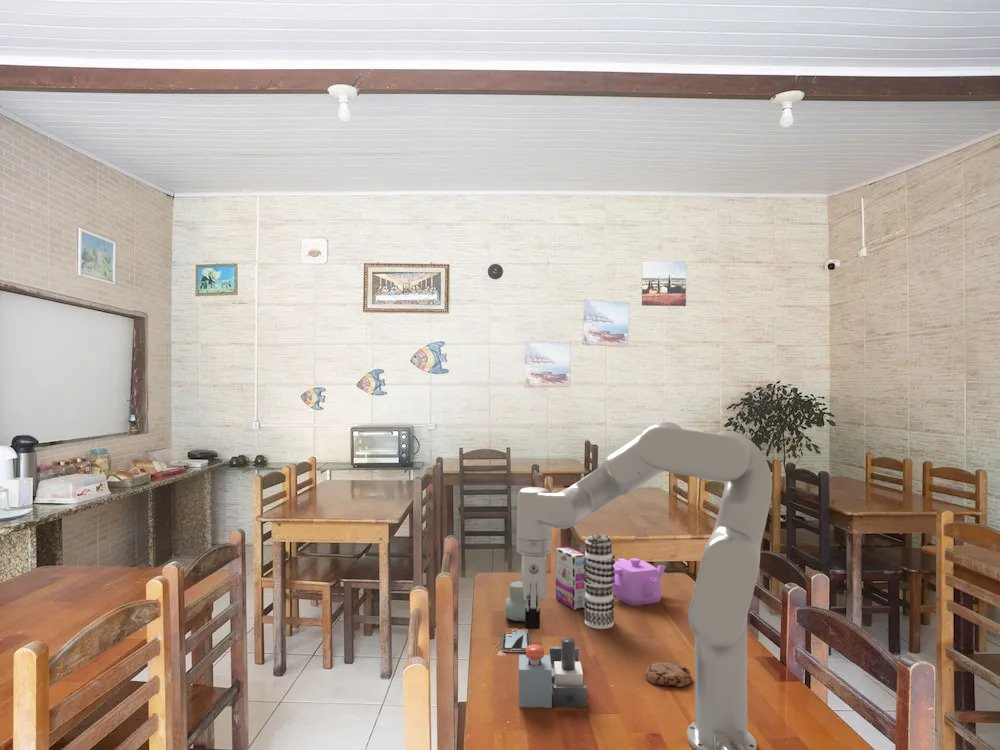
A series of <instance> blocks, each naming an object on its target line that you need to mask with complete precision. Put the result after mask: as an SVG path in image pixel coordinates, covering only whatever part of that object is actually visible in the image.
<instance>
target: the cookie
mask: <svg viewBox="0 0 1000 750" xmlns="http://www.w3.org/2000/svg"><path fill="white" fill-rule="evenodd" d="M645 679H646V681H648V682H649V683H650V684H653V685H658V686H663V687H668V686H674V687H676V688H683V687H685V686H688V685H690V684H691V682H693V677H692V675H691V670H690V668H688V667H687V666H685V665H682V664H679V663H678V662H656V663H653V664H650V665H649V666H647V667H646V669H645Z"/></svg>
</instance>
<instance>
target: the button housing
mask: <svg viewBox="0 0 1000 750" xmlns="http://www.w3.org/2000/svg"><path fill="white" fill-rule="evenodd" d="M552 699H553V691H552V670H551V660H550V654H548V655H547V654H544V657H543V658H541V659H539V665H530V659H529V658H527V657H526V654H518V707H519V706H527V707H526V708H536V707H543V708H544V709H545V708H546V709H547V708H548V709H549V708H550V709H552V707H553V706H552V705H553V700H552Z"/></svg>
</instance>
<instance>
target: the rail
mask: <svg viewBox="0 0 1000 750" xmlns="http://www.w3.org/2000/svg"><path fill="white" fill-rule="evenodd" d="M549 655H550V660H551V670H552V675H554V661H562V660H561V646H549ZM575 662H579V646H575ZM587 690H588V689H587V685H586V684H585V685H554V693H553V688H552V699H553V700H552V702H553V707H555V706H557V707H562V708H564V707H565V708H568V707H569V708H570V707H571V708H572V707H573V708H587V706H588V705H587V704H588V701H587V700H588V699H587V696H588V695H587V692H588V691H587Z"/></svg>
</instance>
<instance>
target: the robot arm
mask: <svg viewBox="0 0 1000 750" xmlns="http://www.w3.org/2000/svg"><path fill="white" fill-rule="evenodd" d="M663 472H667V473H672V474H675V475H676V474H677V475H681V476H687V477H693V478H697V479H698V478H699V479H704V480H709V481H714V482H724V488H723V491H722V496H721V501H720V504H719V510H718V513H717V517H716V520H715V521H716V522H715V524H714V528H713V530H712V533H711V535H710V537H709V538H708V540H707V543H706V545H705V547H704V550H703V551H702V552H703V553H702V556H701V560H700V564H699V568H698V571H697V575H696V580H695V584H694V587H693V590H692V596H691V599H690V602H689V606H688V609H687V610H688V611H687V617H688V623H689V624H688V625H689V626H690V628H691V629H690V630H691V631H692V632H693V634H694V721H693V722H691V723H690V724H689V725H688V726H687V729H686V738H687V742H688V743H689V745H690V746H691V747H692V748H693V749H694V750H757V749H758V748H757V745H758V744H757V741H756V738H755V737H754V736H753V734H752V733H751V732H749V731H748V614H749V610H750V606H751V604H752V599H753V595H754V591H755V587H756V584H757V579H758V576H759V575H758V574H759V570H760V564H761V546H762V541H763V537H764V532H765V529H766V525H767V522H768V521H767V519H768V515H769V511H770V506H771V501H772V493H773V479H772V473H771V469H770V467H769V463H768V461H767V459H766V457H765V455H764V454H763V452H762V451H761V449H760V448H759V447H758V446H757V445H756V444H755V443H753V441H752V440H750V438H748V437H747V436H745V435H744V434H741V432H740V433H739V432H737V431H734V430H721V431H719V432H717V433H709V432H703V431H698V430H697V431H695V430H691V429H686V428H685V429H684V428H682V426H680V425H678V424H676V423H675V422H671V421H663V422H659V423H658V422H657V423H656V424H653V425H651V426H649V427H647V428H646V429H645V430H644V431H643V432H642V434H640V435H638V436H637V437H635V438H633V440H631V441H630V442H628V443H626V444H625V445H624V446H621V448H619V449H617V450H615V451H614V452H612V453H611V454H610V455H608V456H607V457H605V459H604V460H603V461H602V463H601V464H600V465H599V466H598V467H597V468H596V469H594V470H593V471H592V472H589V474H588V475H586V476H584V477H583V478H581V479H580V480H579V481H577V482H575V483H574V484H572V485H571V486H569V487H567V488H565V489H563V490H561V491H559V492H555V493H551V491H550V490H549V489H547V488H544V487H537V486H528V487H523V488H521V489H519V490H518V493H517V500H516V501H517V502H516V503H517V504H516V505H517V507H516V509H517V510H516V511H517V512H516V552H517V553H518V554H520V555H521V578H522V579H521V580H522V585H523V595H524V600H525V601H526V600H527V603H526V607H527V608H525V621H524V627H525V628H526V629H529V630H540V628H541V627H540V626H541V623H540V622H541V608H540V601H543V602H546V600H547V555H549V554H550V553H551V549H552V547H551V541H552V540H551V539H552V527H553V528H556V529H561V530H566V529H570V528H572V527H574V526H575V525H577V524H578V523H579V522H581V521H582V520H584V519H586V518H587V517H589V516H590V515H592V514H593V513H594V512H596V511H598V510H599V509H600V508H602V507H603V506H606V505H607V504H609V503H610V502H611V501H613V500H615V499H617V498H619V497H620V496H624V495H627V494H630V493H632V492H633V491H634V490H637V488H639V487H641V486H643V485H644V484H646V483H647V482H649V481H650V480H652V479H654V478H655V477H656V476H658V475H660V474H661V473H663Z"/></svg>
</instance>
